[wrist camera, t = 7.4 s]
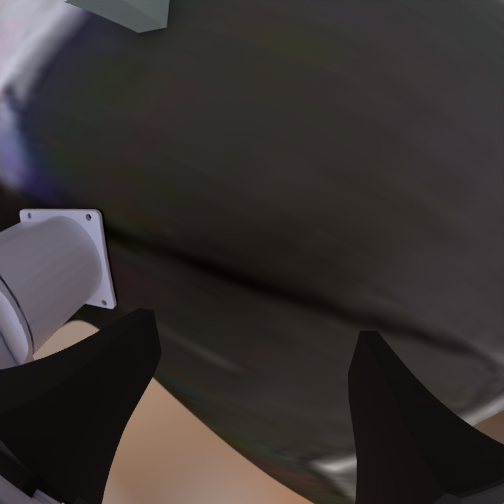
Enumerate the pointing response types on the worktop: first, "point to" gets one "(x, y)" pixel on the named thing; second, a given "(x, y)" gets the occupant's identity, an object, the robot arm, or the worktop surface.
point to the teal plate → (129, 12)
